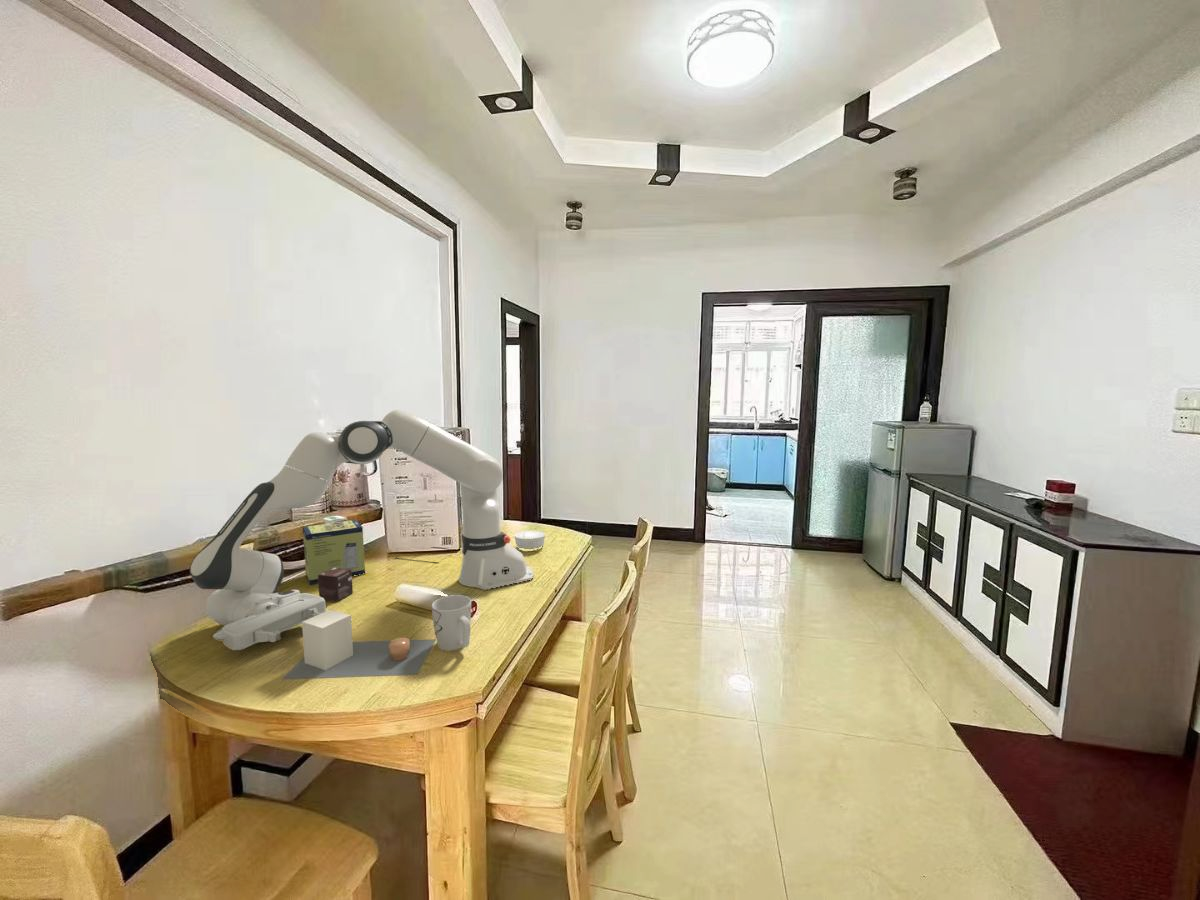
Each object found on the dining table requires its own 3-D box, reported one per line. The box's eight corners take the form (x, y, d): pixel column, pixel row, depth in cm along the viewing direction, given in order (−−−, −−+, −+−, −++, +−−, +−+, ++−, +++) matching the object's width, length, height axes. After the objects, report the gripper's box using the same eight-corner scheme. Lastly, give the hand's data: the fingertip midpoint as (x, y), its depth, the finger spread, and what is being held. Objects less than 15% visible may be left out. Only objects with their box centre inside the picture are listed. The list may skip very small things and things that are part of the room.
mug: (486, 650, 106) (485, 607, 105) (450, 665, 100) (449, 619, 99) (460, 632, 114) (459, 591, 113) (426, 644, 108) (425, 602, 107)
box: (337, 602, 130) (336, 576, 129) (318, 600, 131) (317, 574, 131) (353, 593, 136) (352, 568, 135) (335, 591, 137) (333, 567, 136)
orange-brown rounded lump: (410, 650, 105) (409, 636, 105) (409, 659, 101) (409, 645, 101) (390, 653, 104) (389, 639, 103) (389, 663, 100) (388, 648, 100)
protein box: (304, 575, 150) (301, 526, 148) (359, 564, 159) (357, 519, 157) (308, 585, 142) (305, 534, 140) (366, 574, 151) (363, 526, 149)
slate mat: (436, 640, 110) (435, 639, 110) (417, 676, 96) (417, 674, 96) (318, 644, 108) (318, 642, 108) (281, 681, 94) (281, 679, 94)
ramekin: (509, 547, 178) (509, 533, 178) (534, 541, 186) (534, 528, 185) (524, 555, 170) (524, 540, 169) (551, 548, 177) (551, 535, 176)
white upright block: (333, 648, 106) (330, 609, 105) (353, 655, 103) (350, 615, 102) (304, 662, 100) (301, 621, 99) (325, 670, 97) (322, 628, 96)
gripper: (207, 621, 101) (246, 635, 95) (302, 586, 120) (339, 596, 114) (209, 649, 102) (249, 665, 96) (303, 610, 120) (341, 621, 114)
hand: (299, 627), depth 105 cm, fingers open, 8 cm apart
